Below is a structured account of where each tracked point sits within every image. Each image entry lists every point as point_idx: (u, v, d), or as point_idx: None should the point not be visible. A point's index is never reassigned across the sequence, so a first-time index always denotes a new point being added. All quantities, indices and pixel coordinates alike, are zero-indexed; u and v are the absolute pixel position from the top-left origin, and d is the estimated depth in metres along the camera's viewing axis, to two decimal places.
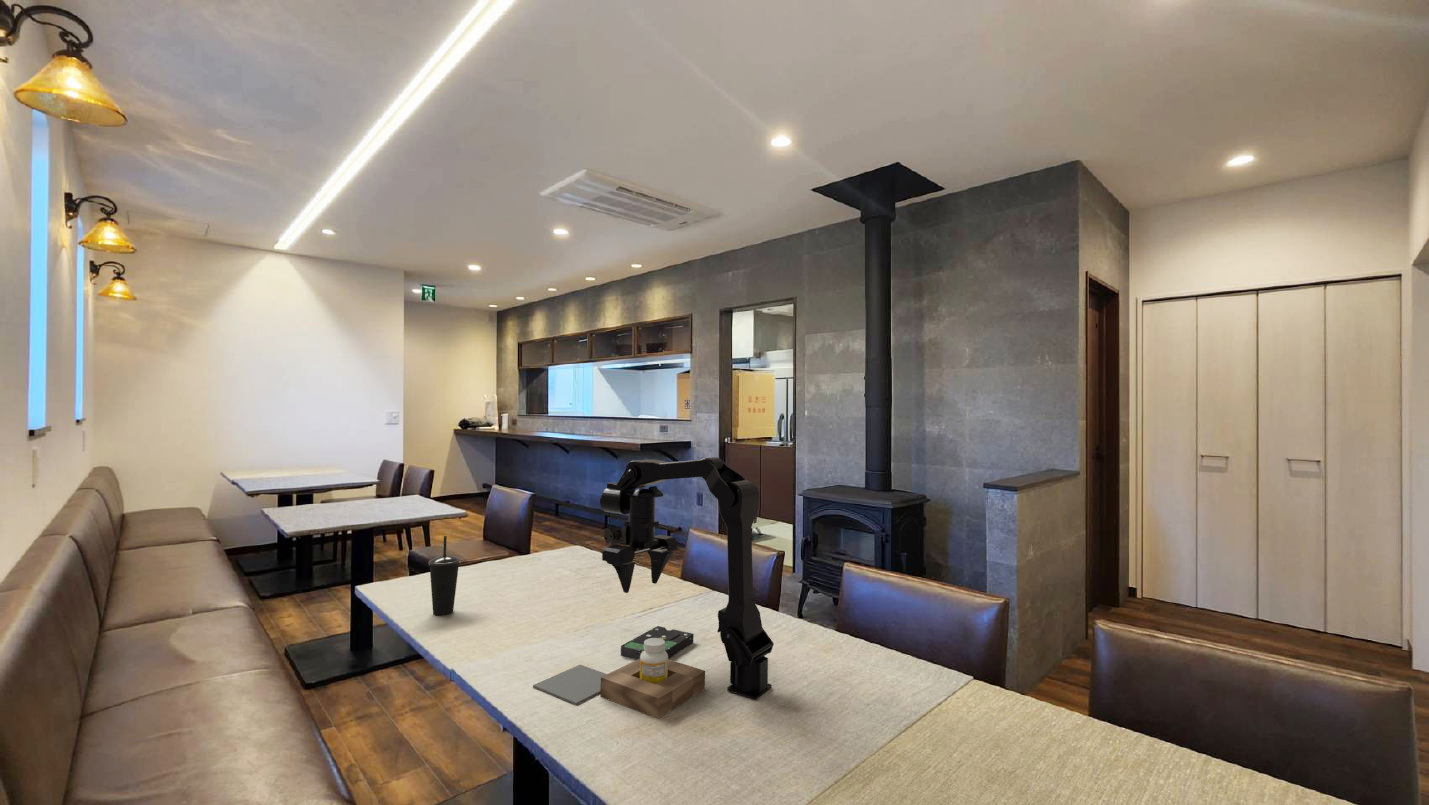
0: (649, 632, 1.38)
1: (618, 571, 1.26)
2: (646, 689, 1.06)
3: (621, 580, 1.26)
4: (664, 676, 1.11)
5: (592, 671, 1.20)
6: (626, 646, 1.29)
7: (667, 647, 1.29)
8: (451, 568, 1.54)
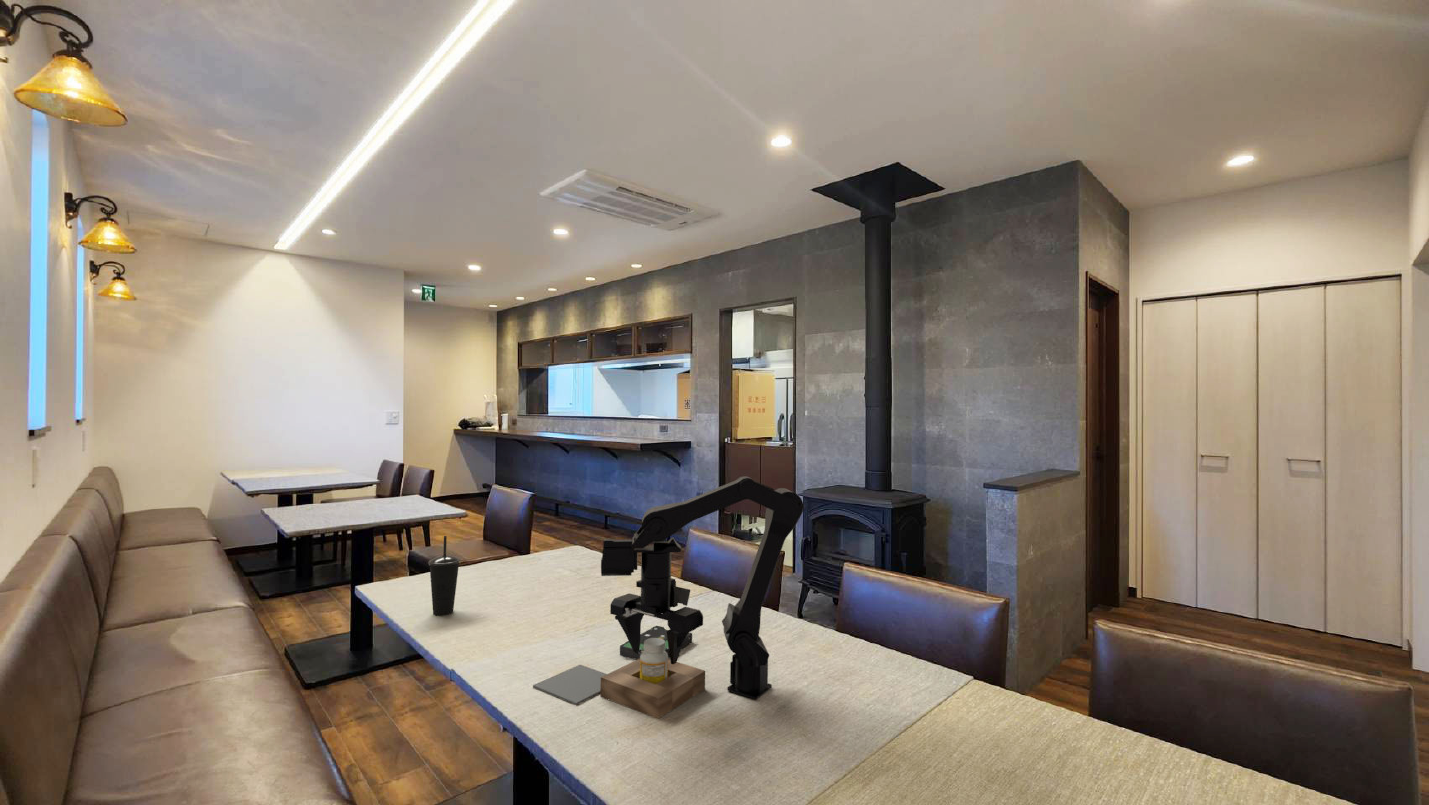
0: (648, 632, 1.38)
1: None
2: (646, 689, 1.06)
3: None
4: (664, 676, 1.11)
5: (592, 671, 1.20)
6: (625, 646, 1.30)
7: (666, 647, 1.29)
8: (451, 568, 1.54)
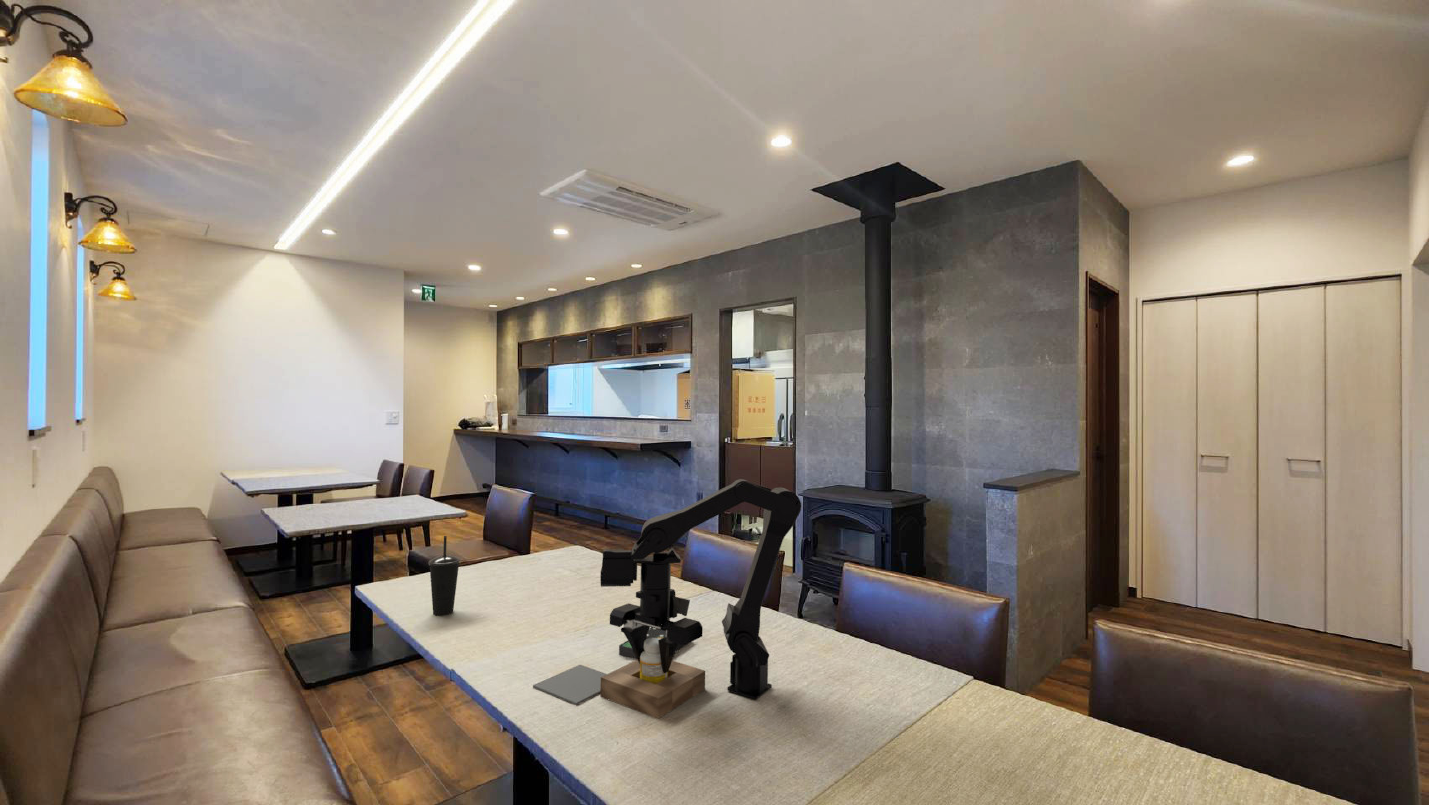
0: None
1: None
2: (646, 689, 1.06)
3: None
4: (664, 676, 1.11)
5: (592, 671, 1.20)
6: (624, 645, 1.30)
7: None
8: (451, 568, 1.54)
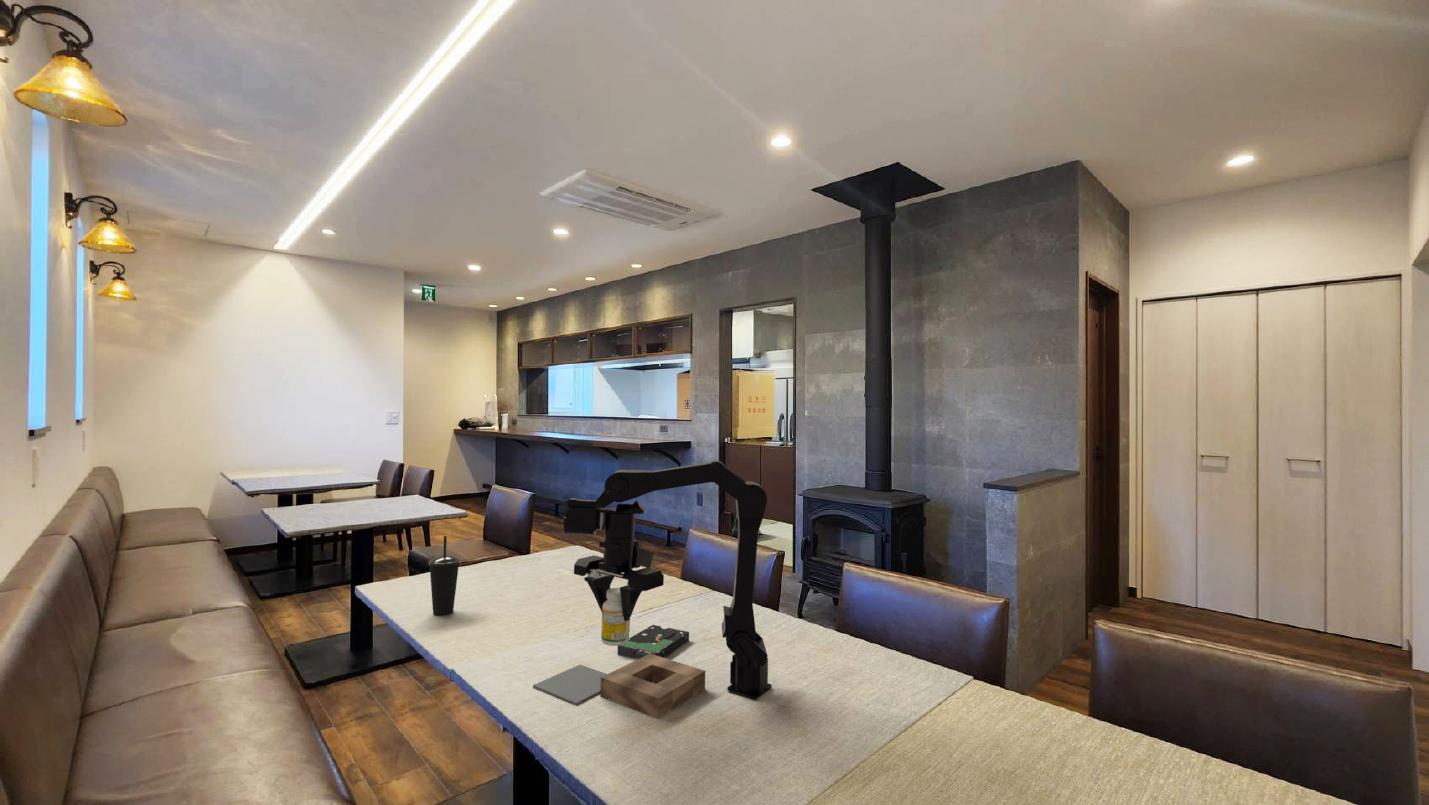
0: (645, 631, 1.39)
1: None
2: (646, 689, 1.06)
3: None
4: (626, 624, 1.12)
5: (592, 671, 1.20)
6: (623, 645, 1.30)
7: (663, 646, 1.30)
8: (451, 568, 1.54)
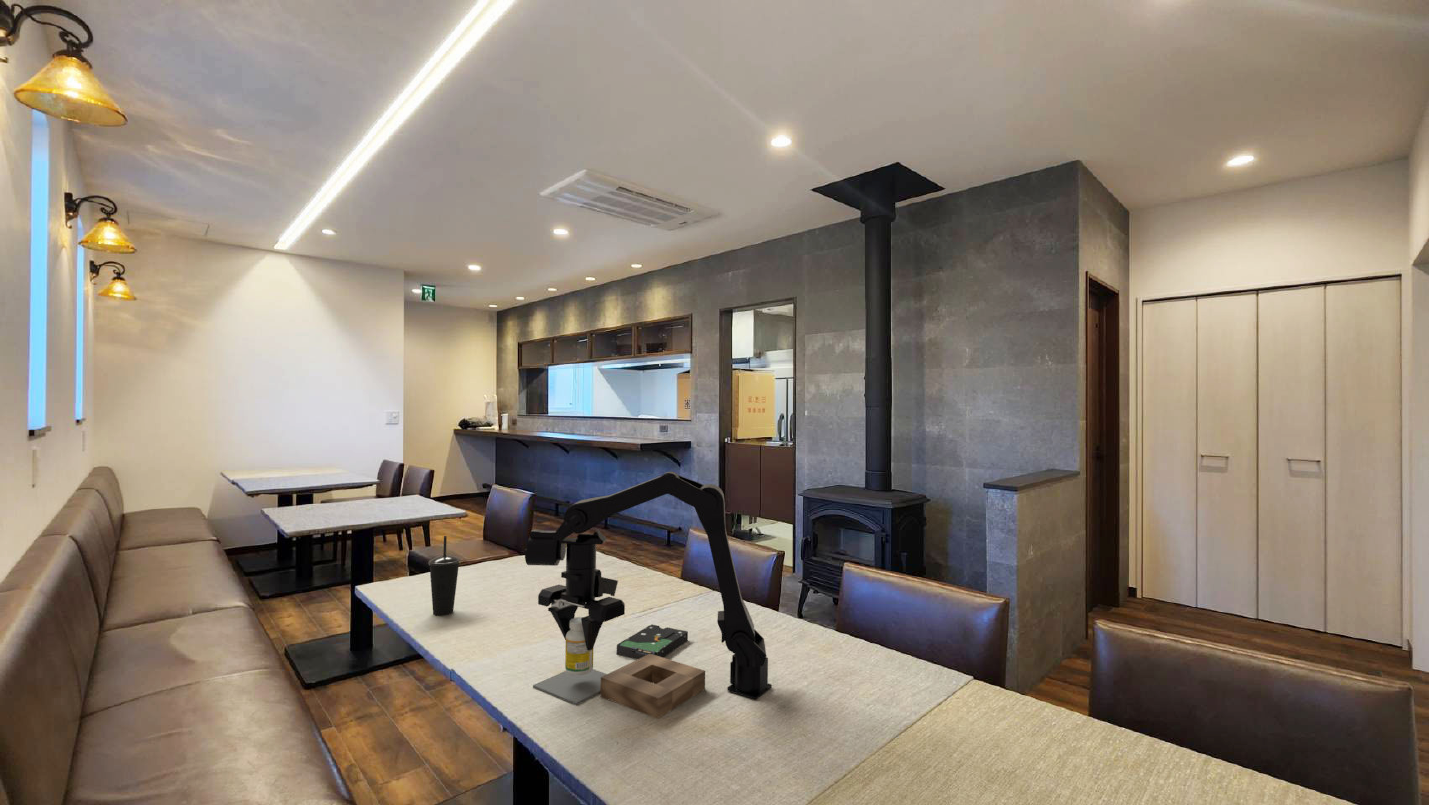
0: (643, 630, 1.39)
1: None
2: (646, 689, 1.06)
3: None
4: (589, 654, 1.14)
5: (592, 671, 1.20)
6: (622, 645, 1.30)
7: (662, 645, 1.30)
8: (451, 568, 1.54)
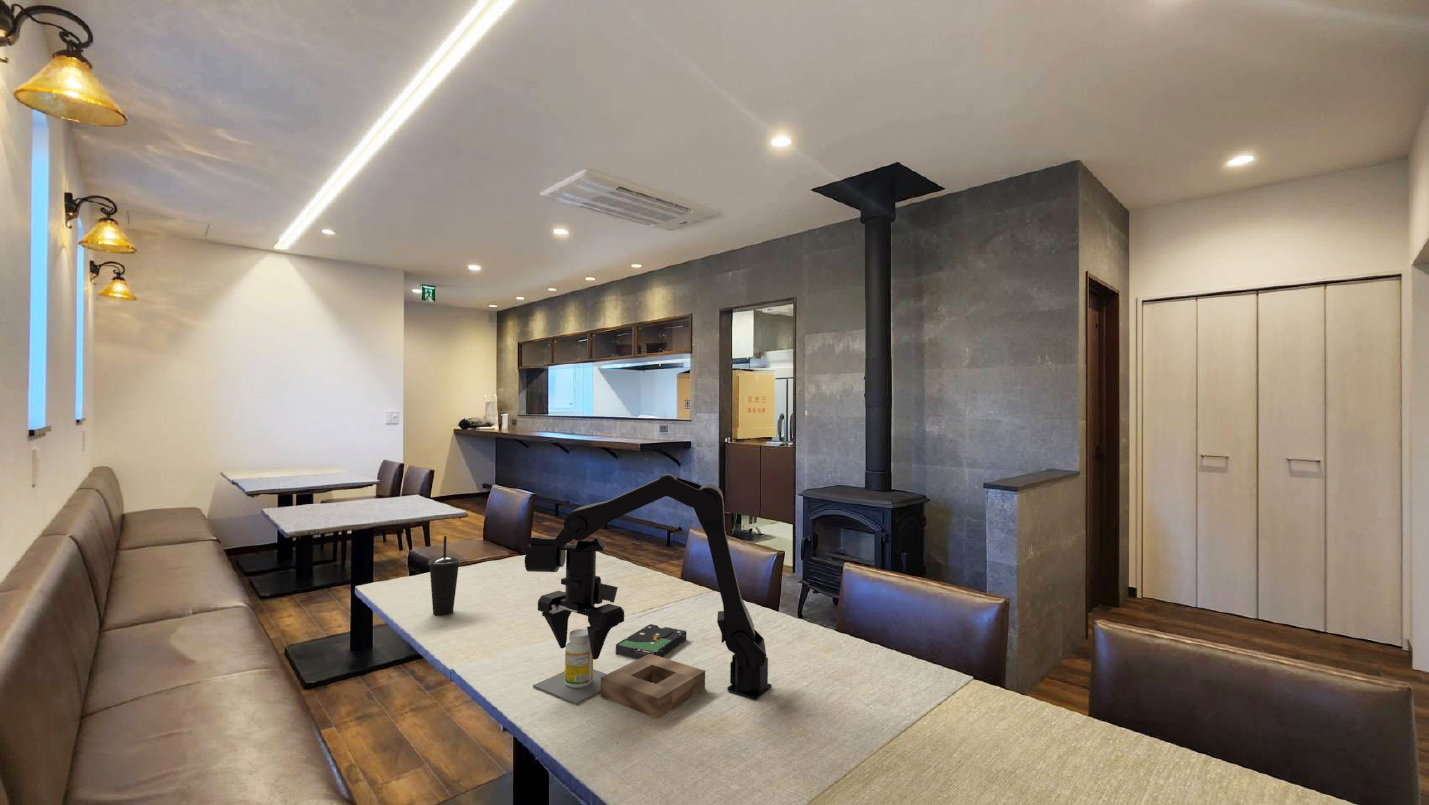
0: (642, 630, 1.39)
1: None
2: (646, 689, 1.06)
3: None
4: (588, 666, 1.14)
5: None
6: (621, 644, 1.30)
7: (661, 645, 1.30)
8: (451, 568, 1.54)
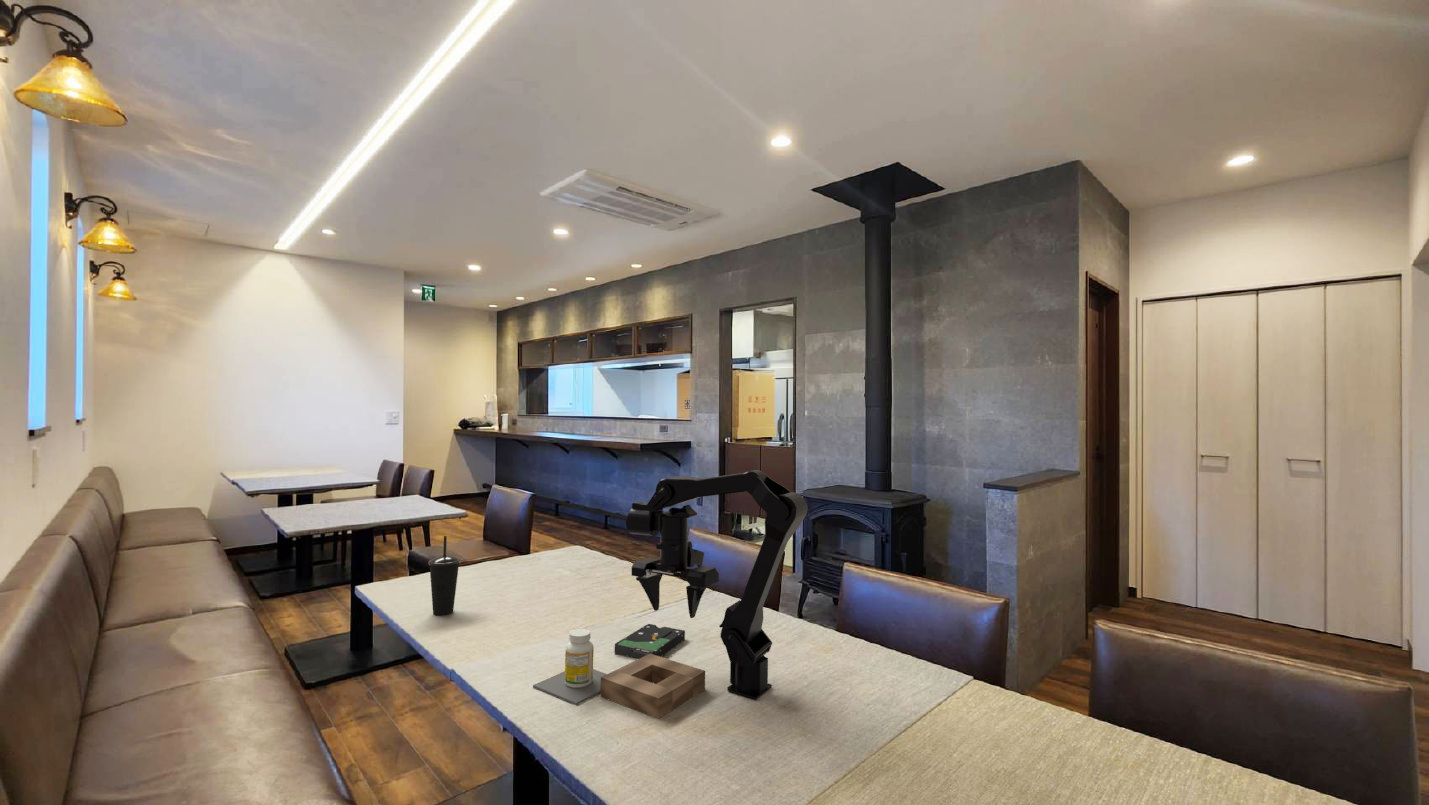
0: (641, 630, 1.39)
1: None
2: (646, 689, 1.06)
3: None
4: (588, 666, 1.14)
5: None
6: (620, 644, 1.30)
7: (660, 644, 1.30)
8: (451, 568, 1.54)
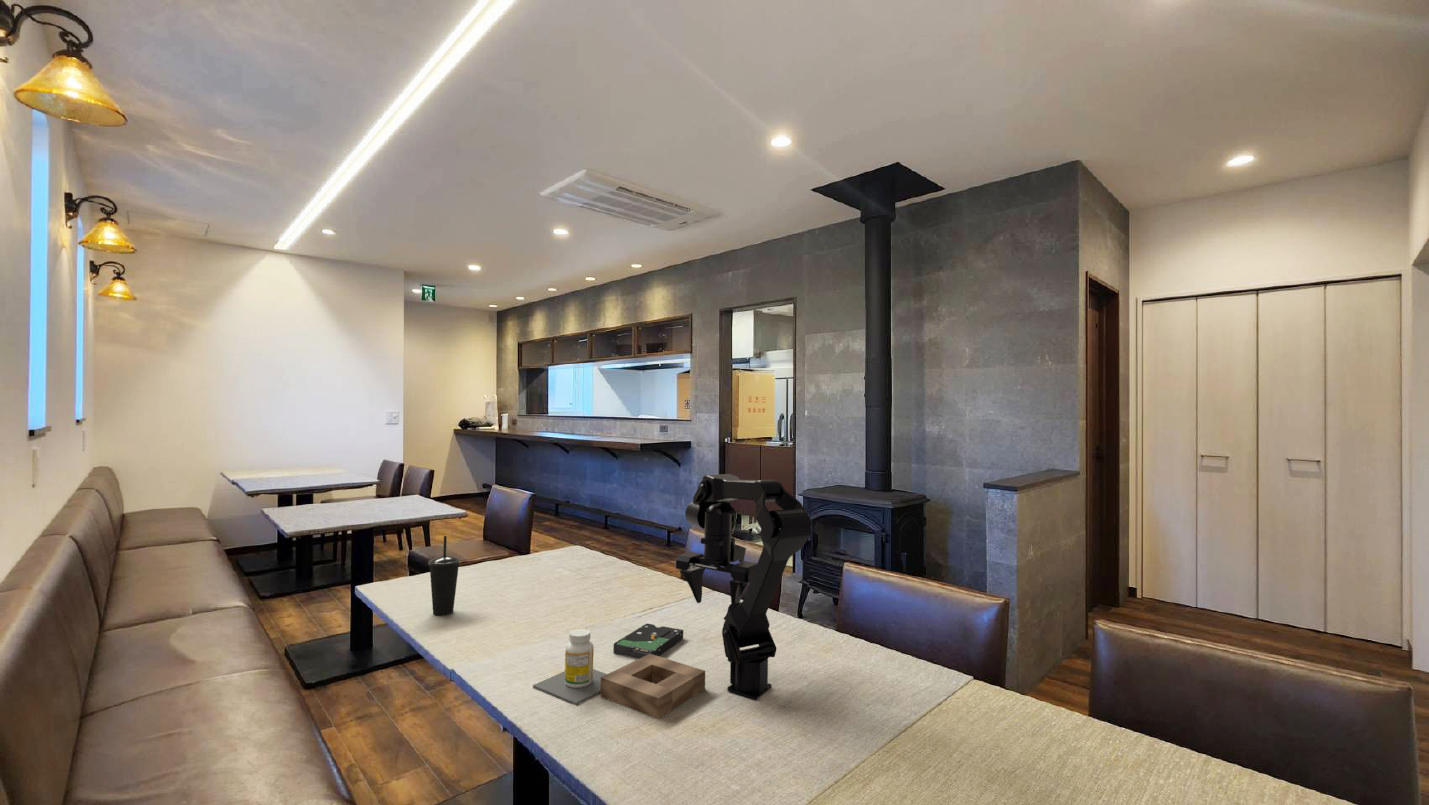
0: (639, 629, 1.39)
1: None
2: (646, 689, 1.06)
3: None
4: (588, 666, 1.14)
5: None
6: (619, 643, 1.31)
7: (659, 644, 1.31)
8: (451, 568, 1.54)
